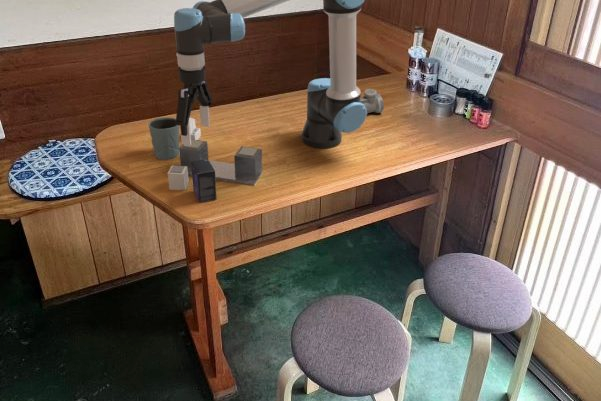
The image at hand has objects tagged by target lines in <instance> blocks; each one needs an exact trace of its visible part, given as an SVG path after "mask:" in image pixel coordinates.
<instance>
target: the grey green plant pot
mask: <svg viewBox="0 0 601 401" xmlns="http://www.w3.org/2000/svg"><path fill="white" fill-rule="evenodd" d="M147 125H148V128H149V129H148V130H149V133H150V137H151V143H152V146H153V147H152V148H153V153H154V154H153V155H154V157H155V158H156V159H158V160H161V161H168V160H174V159H176V158H177V157H178V156H180V153H179V147H180V146H179V144H180V125H176V118H173V117H167V116H166V117H158V118H154V119H152V120H150V121H149V122H148V124H147Z"/></svg>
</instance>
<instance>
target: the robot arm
mask: <svg viewBox="0 0 601 401" xmlns="http://www.w3.org/2000/svg"><path fill="white" fill-rule="evenodd" d="M288 1H290V0H212V1H210V2H209V1H204V0H201V1H198V2H196V3H195V4H194V5H193V6H192V7H190V8H189V7H184V8H179V9H177V10H175V12H174V15H173V23H174V24H173V29H174V35H175V36H174V39H175V45H176V54H175V56H176V59H177V65H178V68H177V72H178V80H179V82H181V83H182V84H183V89H178V93H177V94H178V95H177V96H178V101H177V109H176V114H175V115H176V117H175V119H176V125H179V131H180V137H181V138H180V140H181V145H182V144H185V145H191V133H190V124H188V122H189V118H191V117H190V116H191V112H192V108H193V105H194V104H195V102H196V99H197V100H198V102H199V103H200V105H199V118H200V121H199V122H200V127H201V126H202V127H209V128H210V126H211V124H210V109H209V108H210V107H211V106H212V105H213V101H212V99H213V97H212V95H211V92H210V89H209V86H208V82H207V77H206V67H205V64H206V60H205V48H204V46H205V45H211V44H212V45H213V44H222V43H230V42H231V43H233V42H237V41H241V40H243V39H244V38H245V36H246V24H245V23H246V22H245V19H244V18H247V17H250V16H252V15H254V14H256V13H260V12H262V11H265V10H267V9H270V8H273V7H276V6H279V5H281V4H283V3H286V2H288ZM322 1H323V3H322V4H323V5H322V6H323V9H322V10H323V13H325V14H326V15H327V16H328V38H329V39H328V43H329V44H328V45H329V72H330V73H329V76H330V78H329V77H328V78H327V77H324V78H322V77H321V78H315V79H313V80H312V79H311V80H310V81H309V82H308V86H307V91H306V92H307V94H306V95H307V96H306V97H307V99H306V100H307V102H306V103H307V104H306V120H305V123H304V126H303V128H302V131H301V137H300V138H301V141H302V143H304V144H305V145H306V146H308V147H312V148H317V149H330V148H335V147H337V146H339V145H340V144H341V142H342V138H343V136H342V135H343V134H342V133H344V134H350V133H353V132H355V131H357V130H359V129H360V128H361V126H362V125H364V123H365V121H366V118H367V116H368V113H367V110H366V107H365V106H364V104H362V103H361V97H362V95H361V94H362V92H361V91H362V90H361V89H360V88H359V87H358V86H357V16H358V13H359V12H360V11H361V10H362V5H363V4H364V3H365V0H322Z"/></svg>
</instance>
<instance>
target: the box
mask: <svg viewBox="0 0 601 401" xmlns="http://www.w3.org/2000/svg"><path fill="white" fill-rule="evenodd" d="M208 159H209V158H208ZM208 159H202V160H197V161H192V162H191V168H192V176H191V177H192V178H191V179H192V189H193V193H194V195H195V197H196V200H197V201H198V203H200V204H201V203H205V202H209V201H215V200H217V186H216V185H217V184H216V183H217V182H216V180H215V170H214V168H213V166H212V165H211V163H210V162H209V160H210V159H209V160H208Z"/></svg>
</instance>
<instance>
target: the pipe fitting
mask: <svg viewBox="0 0 601 401" xmlns="http://www.w3.org/2000/svg"><path fill="white" fill-rule="evenodd" d="M363 94H364V96H361V103H362V104H364V106H365V107H366V110H367V114H369V113H375V114H379V113H383V111H384V108H385V104H384V99H383V97H382V96H381V94H380V93H377V90H376V89H373V88H367V89H365V90H364V92H363Z"/></svg>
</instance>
